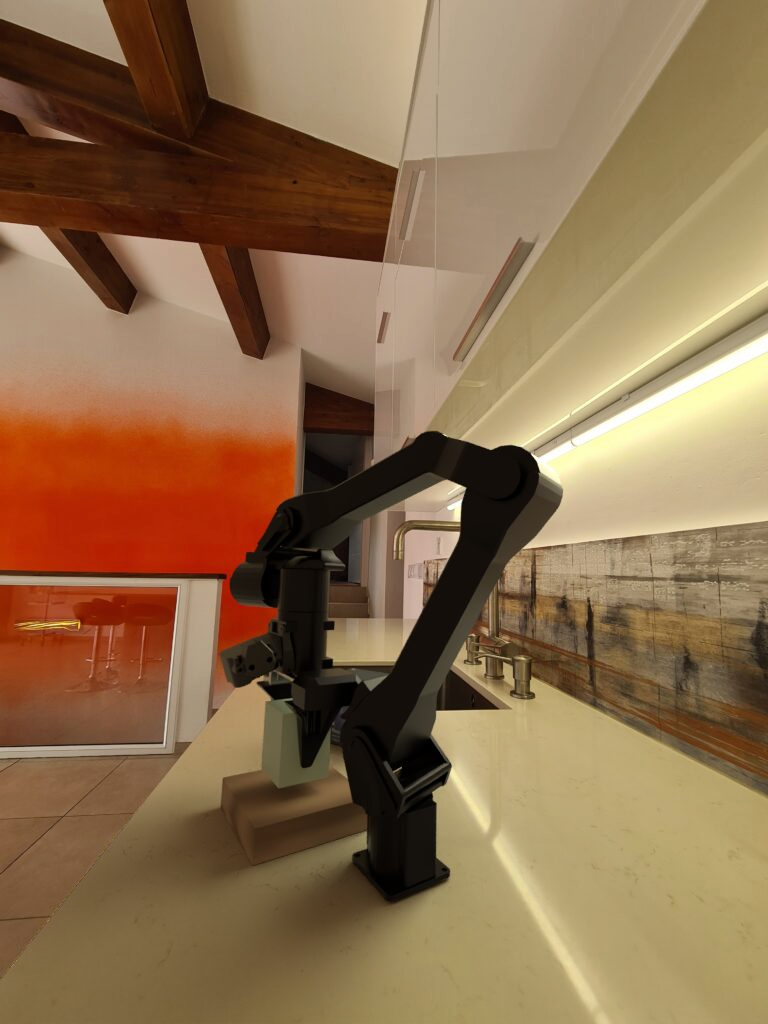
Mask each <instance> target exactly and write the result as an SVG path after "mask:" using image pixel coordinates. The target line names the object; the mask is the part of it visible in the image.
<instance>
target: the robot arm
mask: <svg viewBox="0 0 768 1024" xmlns="http://www.w3.org/2000/svg"><path fill="white" fill-rule="evenodd" d="M444 481H449V482H452V483H454V484H456V485H458V486H461V487H463V488H465V491H464V494H463V497H462V500H461V503H460V516H459V517H460V518H459V519H460V521H459V536H458V539H457V542H456V544H455V546H454V548H453V550H452V552H451V554H450V555H449V557H448V560H447V561H446V563H445V565H444V568H443V569H442V572H441V573H440V575H439V577H438V578H437V579H438V580H437V581H436V583H435V584H434V587H433V588H432V591H431V593H430V595H429V597H428V598H427V600H426V602H425V605H424V606H423V608H422V610H421V612H420V614H419V616H418V618H417V619H416V621H415V624H414V626H413V627H412V629H411V632H410V633H409V635H408V637H407V639H406V641H405V643H404V645H403V646H402V649H401V650H400V653H399V655H398V656H397V658H396V661H394V662H395V663H394V664H393V666H392V668H391V670H390V672H389V674H388V675H384V676H380V677H376V678H372V679H368V680H364V681H361V680H360V678H359V677H358V676H357V675H356V674H354V673H352V672H349V671H346V670H347V669H344V668H341V667H338V668H334V658H332V657H329V656H327V651H328V650H327V649H328V648H327V647H328V631H335V623H336V622H335V620H333V619H329V603H330V582H331V581H330V578H331V571H334V572H335V571H336V572H337V571H339V572H340V571H341V572H342V571H344V570H345V568H346V565H345V563H343V562H342V560H341V559H340V558H339V557H337V556H336V555H335V553H334V551H333V549H334V548H336V546H338V545H339V544H341V543H342V542H344V541H345V540H346V539H347V538H349V536H350V535H351V533H352V531H353V530H354V528H355V527H356V526H357V525H358V524H360V523H361V522H363V521H364V520H366V519H368V518H370V517H373V516H375V515H377V514H379V513H381V512H383V511H385V510H387V509H389V508H391V507H393V506H395V505H397V504H399V503H401V502H402V501H405V500H406V499H409V498H411V497H413V496H415V495H417V494H420V493H422V492H423V491H425V490H427V489H429V488H431V487H433V486H435V485H438V484H439V483H441V482H444ZM563 496H564V488H563V485H562V482H561V479H560V476H559V475H558V473H557V472H556V470H555V469H554V468H553V467H551V466H550V465H548V464H547V463H546V462H544V461H543V460H541V459H540V458H539V457H537V456H536V455H534V454H533V453H531V451H529V450H527V449H525V448H524V447H522V446H518V445H515V444H514V445H513V444H507V445H499V446H497V447H494V448H491V449H489V448H487V447H484V446H481V445H478V444H475V443H473V442H469V441H466V440H462V439H458V438H455V437H449V436H448V435H447V434H444V433H443V432H441V431H438V430H426V431H424V432H421V433H419V435H417V436H416V437H415V438H414V439H413V442H411V443H409V444H408V445H406V446H404V447H402V448H401V449H399V450H397V451H395V452H393V453H392V454H390V455H388V456H387V457H385V458H383V459H381V460H379V461H378V462H376V463H375V464H373V465H371V466H369V467H367V468H365V469H364V470H362V471H360V472H359V473H357V474H355V475H353V476H351V477H349V478H348V479H346V480H344V481H343V482H341V483H338V484H337V485H335V486H334V487H332V488H328V489H325V490H317V491H310V492H303V493H300V494H297V495H295V496H292V497H289V498H286V499H284V500H283V501H281V502H280V503H279V505H278V506H277V507H276V509H275V513H274V514H273V516H272V517H271V520H270V522H269V524H268V525H267V527H266V529H265V530H264V532H263V534H262V536H261V537H260V538H259V540H258V541H257V543H256V544H257V546H256V548H255V549H254V551H246V552H245V556H244V557H245V559H244V561H243V562H241V563H240V564H238V566H236V568H235V569H234V570H233V572H232V575H231V577H230V578H229V584H228V585H229V590H230V595H231V597H232V598H233V600H234V601H235V602H236V603H237V604H239V605H240V606H241V605H242V606H247V607H259V608H269V609H270V608H272V609H276V618H270V621H268V624H267V633H263V634H260V635H259V636H255V637H252V638H250V639H247V640H245V641H242V642H240V643H237V644H236V645H233V646H230V647H228V648H225V649H223V650H221V651H220V652H219V658H220V662H221V665H222V669H223V671H224V675H225V678H226V681H227V683H230V684H232V686H233V688H235V689H238V688H243V687H246V686H248V685H251V684H252V683H253V681H254V680H256V679H260V678H261V677H263V679H262V680H259V681H257V682H255V683H256V685H257V686H258V687H259V688H260V689H261V690H262V691H263V692H264V693H265V694H266V695H267V696H268V697H269V699H270V701H273V700H281V699H289V698H292V699H293V700H289V701H284V703H285V704H286V705H287V706H288V707H289V708H290V709H291V710H292V712H293V713H294V714H295V715H296V717H297V730H298V744H299V756H300V765H301V767H302V768H308V767H311V766H312V764H313V762H314V760H315V758H316V756H317V754H318V752H319V750H320V748H321V746H322V744H323V742H324V740H325V738H326V736H327V734H328V732H329V730H330V728H331V726H332V724H333V722H334V721H335V719H336V717H337V715H338V714H339V712H340V710H341V708H342V707H345V706H349V707H348V709H347V710H346V711H345V712H344V713H343V714H341V716H340V717H341V719H344V720H346V721H345V722H344V724H343V726H342V729H341V732H340V739H339V740H340V743H341V744H342V746H341V752H342V758H343V761H344V762H343V763H344V767H345V772H346V778H347V779H348V782H349V787H350V792H351V797H352V801H353V803H354V804H357V805H359V806H361V807H363V809H365V814H367V830H366V848H364V849H361V850H359V851H355V852H353V853H352V855H351V860H352V861H351V862H352V863H353V864H354V865H355V866H356V868H358V869H359V871H360V872H361V873H362V874H363V875H364V876H365V878H367V879H368V881H369V882H370V883H371V884H372V885H373V886H374V887H375V889H377V891H378V892H379V893H380V894H381V895H382V897H383V898H384V899H385V900H386V901H389V902H394V901H397V900H399V899H402V898H405V897H406V896H409V895H411V894H414V893H416V892H418V891H421V890H423V889H426V888H427V887H431V886H433V885H435V884H437V883H439V882H442V881H444V880H447V879H449V878H450V877H451V869H450V868H449V866H447V865H446V863H444V862H443V861H442V860H440V859H439V858H438V857H437V831H438V830H437V821H438V820H437V818H438V817H437V815H438V813H437V812H438V811H437V810H438V809H437V807H438V803H437V802H436V801H434V793H433V792H435V791H436V790H438V789H440V788H441V787H444V786H445V785H447V783H448V780H449V777H450V774H451V771H452V767H453V765H452V762H451V761H450V759H449V758H448V757H447V755H446V753H445V752H444V751H443V749H442V748H441V746H440V745H439V743H438V742H437V740H436V739H435V737H434V736H433V734H432V732H433V729H434V726H435V724H436V720H437V697H438V694H439V690H440V689H441V687H442V684H443V683H444V681H445V679H446V677H447V675H448V674H449V672H450V670H451V668H452V667H453V665H454V663H455V661H456V660H457V657H458V655H459V653H460V652H461V650H462V648H463V646H464V644H465V642H466V640H467V639H468V637H469V635H470V633H471V631H472V629H473V627H475V626H474V625H475V624H476V623H477V620H478V618H479V616H480V614H481V612H482V610H483V609H484V607H485V605H486V604H487V602H488V600H489V598H490V596H491V594H492V592H493V591H494V589H495V587H496V585H497V583H498V581H499V579H500V577H501V575H502V574H503V572H504V570H505V569H506V567H507V564H508V563H509V562H510V561H511V560H512V559H513V558H514V557H515V556H516V555H517V554H519V552H521V551H522V550H523V549H524V548H525V547H526V546H527V545H528V544H529V543H531V542H532V541H533V540H534V539H535V538H536V537H537V536H538V534H539V533H540V532H541V531H542V530H543V528H544V527H545V525H546V524H547V523H548V522H549V520H551V518H552V517H553V516H554V515H555V513H556V512H557V510H558V509H559V508H560V506H561V503H562V500H563Z"/></svg>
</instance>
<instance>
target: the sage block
mask: <svg viewBox="0 0 768 1024" xmlns="http://www.w3.org/2000/svg"><path fill="white" fill-rule="evenodd" d="M289 700H293V699H292V698H289V699H281V700H273V701H271V700H268V701H267V700H266V701H265V703H264V705H265V706H264V716H263V717H264V719H263V736H262V737H263V738H262V753H261V769H260V770H263V771H264V772H265V773H266V774H267V776H268V777H269V778H270V779H271V780H272V781H273V783H274V784H275V785H276V786H277V787H278V788H283V787H287V786H291V785H296V784H300V783H304V782H309V781H313V780H317V779H322V778H326V777H329V764H330V755H331V754H330V753H331V743H330V732H331V728H330V730H329V732H328V734H327V736H326V738H325V740H324V742H323V744H322V746H321V748H320V750H319V752H318V754H317V756H316V758H315V760H314V762H313V764H312V766H311V767H308V768H302V767H301V765H300V756H299V744H298V730H297V717H296V715H295V714H294V713H293V712H292V710H291V709H290V708H289V707H288V706H287V705H286V704H285V703H284V701H289Z"/></svg>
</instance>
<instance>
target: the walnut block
mask: <svg viewBox="0 0 768 1024" xmlns="http://www.w3.org/2000/svg"><path fill="white" fill-rule="evenodd" d="M221 784H222V785H221V797H220V809H221V810H222V812H223V813H224V816H225V818H226V820H227V822H228V823H229V825H230V827H231V828H232V831H233V832H234V834H235V836H236V838H237V840H238V842H239V843H240V845H241V847H242V849H243V850H244V852H245V854H246V856H247V858H248V860H249V862H250V864H251V865H252V866H256V865H259V864H262V863H265V862H268V861H272V860H275V859H279V858H281V857H284V856H288V855H291V854H294V853H298V852H300V851H304V850H307V849H311V848H313V847H314V848H315V847H317V846H320V845H323V844H325V843H329V842H333V841H335V840H336V841H337V840H340V839H342V838H345V837H349V836H351V835H355V834H358V833H361V832H364V831H367V814H365V809H363V807H361V806H359V805H357V804H354V803H353V801H352V797H351V792H350V787H349V782H348V777H347V776H344V775H343V774H342V773H341V772H339V770H337V769H336V768H334V766H332V765H331V764H330V763H329V777H326V778H322V779H317V780H313V781H309V782H304V783H300V784H296V785H291V786H287V787H283V788H278V787H277V786H276V785H275V784H274V783H273V781H272V780H271V779H270V778H269V777H268V776H267V774H266V773H265V772H264V771H263V770H262V769H259V770H254V771H249V772H244V773H240V774H234V775H228V776H224V777H222V783H221Z"/></svg>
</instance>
